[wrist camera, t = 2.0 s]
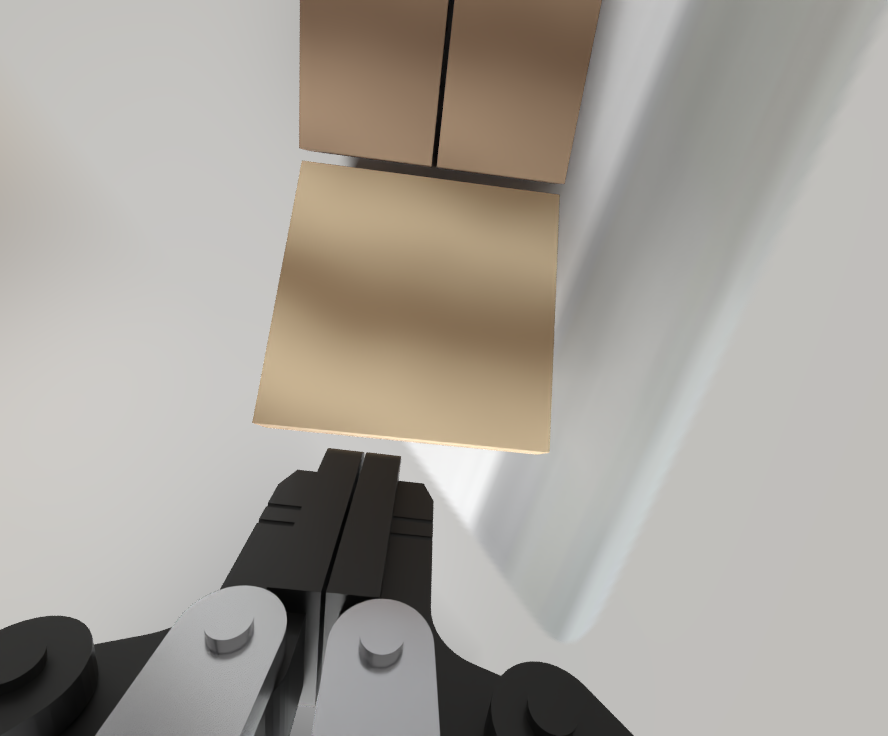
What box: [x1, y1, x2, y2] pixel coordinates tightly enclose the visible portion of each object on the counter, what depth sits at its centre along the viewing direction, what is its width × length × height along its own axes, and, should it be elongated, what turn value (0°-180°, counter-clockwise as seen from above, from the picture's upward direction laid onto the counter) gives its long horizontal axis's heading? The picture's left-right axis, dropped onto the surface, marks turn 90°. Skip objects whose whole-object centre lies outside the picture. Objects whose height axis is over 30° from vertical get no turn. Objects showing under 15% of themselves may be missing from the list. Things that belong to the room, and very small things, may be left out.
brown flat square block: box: [299, 0, 602, 184], centre depth 16 cm, size 10×10×2 cm
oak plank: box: [252, 161, 560, 454], centre depth 17 cm, size 10×10×2 cm
